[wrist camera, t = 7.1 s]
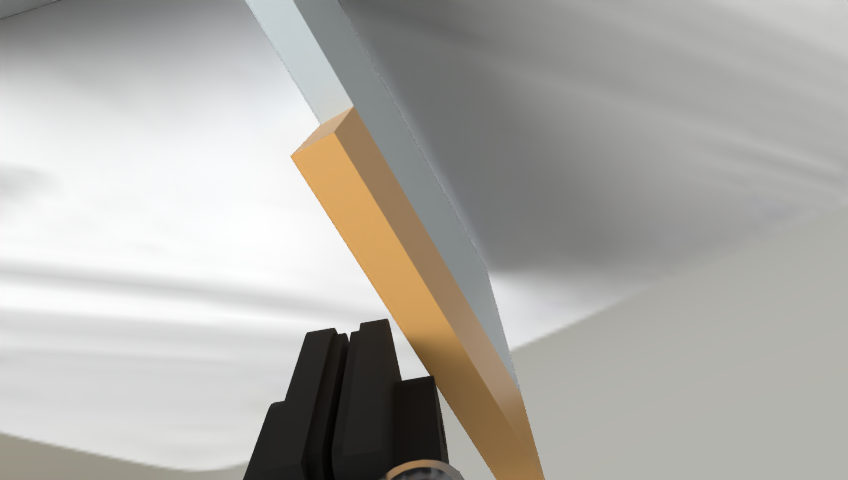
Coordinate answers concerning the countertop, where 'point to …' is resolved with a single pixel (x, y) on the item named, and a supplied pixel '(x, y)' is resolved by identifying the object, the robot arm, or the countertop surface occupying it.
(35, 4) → the camera case
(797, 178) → the countertop surface
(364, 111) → the side door
